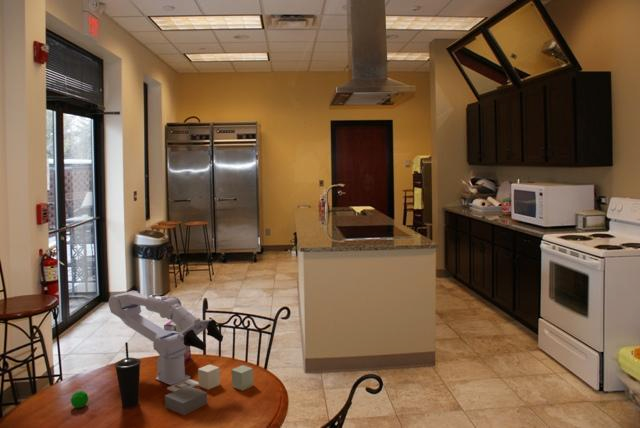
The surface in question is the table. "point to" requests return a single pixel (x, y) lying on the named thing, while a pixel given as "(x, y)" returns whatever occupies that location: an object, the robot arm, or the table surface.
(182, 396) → the gray block
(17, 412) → the table surface
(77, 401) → the green ball
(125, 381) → the drinking cup
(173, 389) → the tile
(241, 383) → the sage block
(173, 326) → the candy bar box
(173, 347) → the robot arm
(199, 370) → the cream block
